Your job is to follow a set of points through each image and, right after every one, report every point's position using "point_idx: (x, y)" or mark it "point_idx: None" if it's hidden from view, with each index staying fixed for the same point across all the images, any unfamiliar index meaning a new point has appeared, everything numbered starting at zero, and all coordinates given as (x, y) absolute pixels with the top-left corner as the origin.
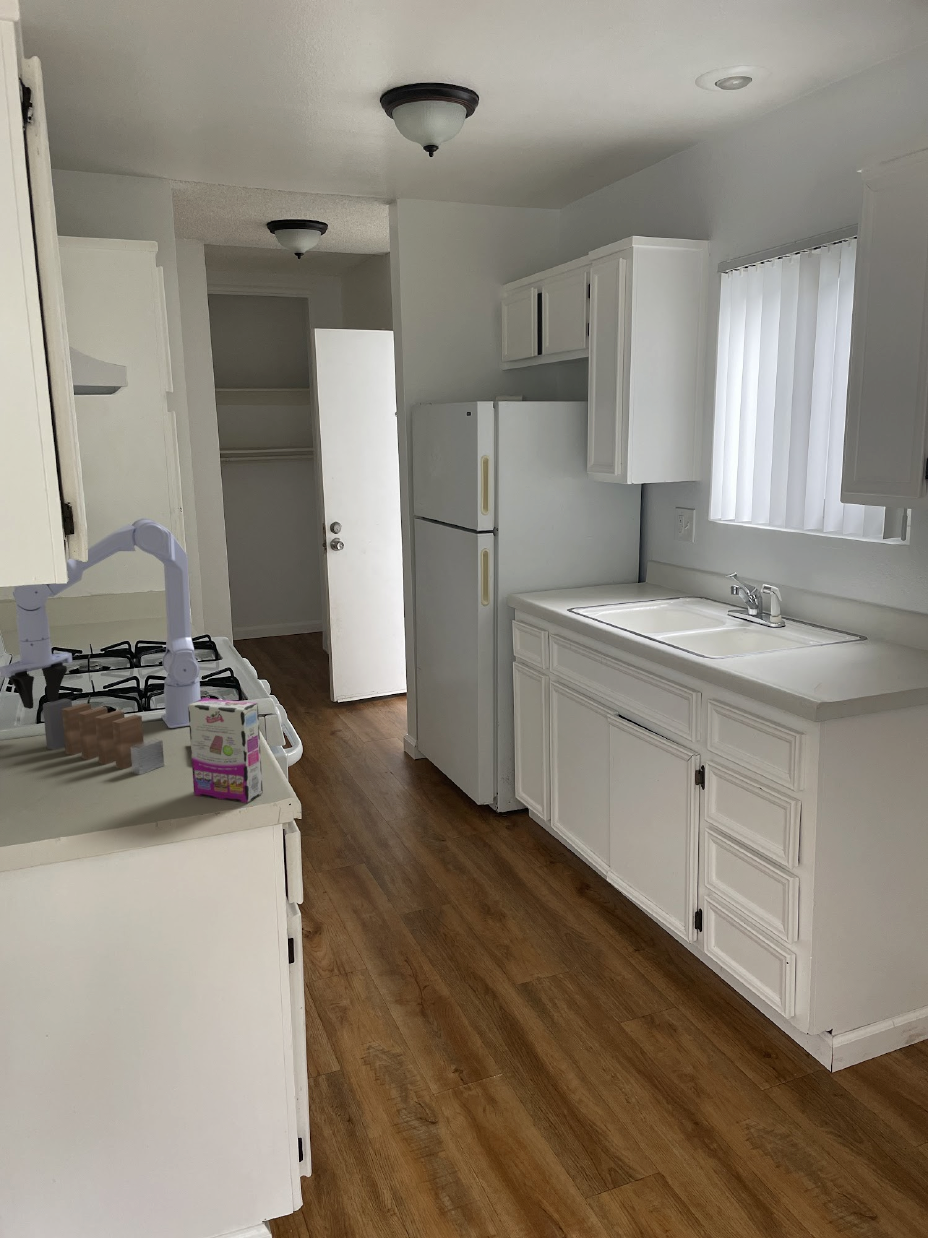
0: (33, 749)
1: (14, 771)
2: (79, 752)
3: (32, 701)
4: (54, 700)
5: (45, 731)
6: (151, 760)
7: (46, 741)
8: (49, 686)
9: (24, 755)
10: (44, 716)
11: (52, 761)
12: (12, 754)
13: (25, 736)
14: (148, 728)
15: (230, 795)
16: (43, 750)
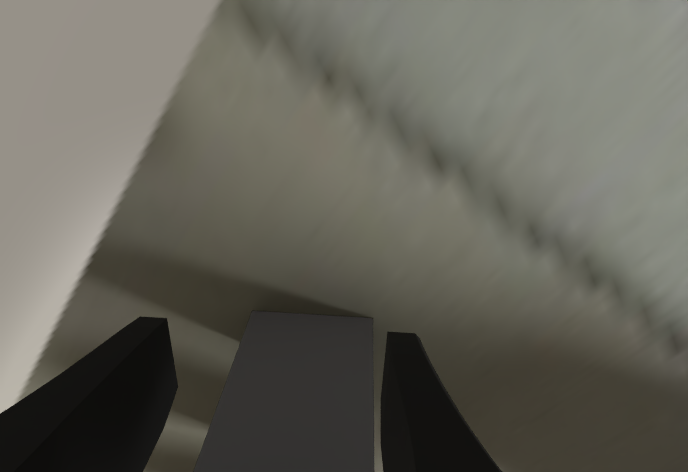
0: (205, 273)
1: None
2: None
3: (146, 447)
4: (381, 408)
5: (231, 370)
6: None
7: (244, 332)
8: (403, 470)
9: (136, 303)
10: (204, 449)
11: (176, 434)
12: (104, 249)
13: (306, 40)
14: (658, 457)
15: None
16: (225, 319)
